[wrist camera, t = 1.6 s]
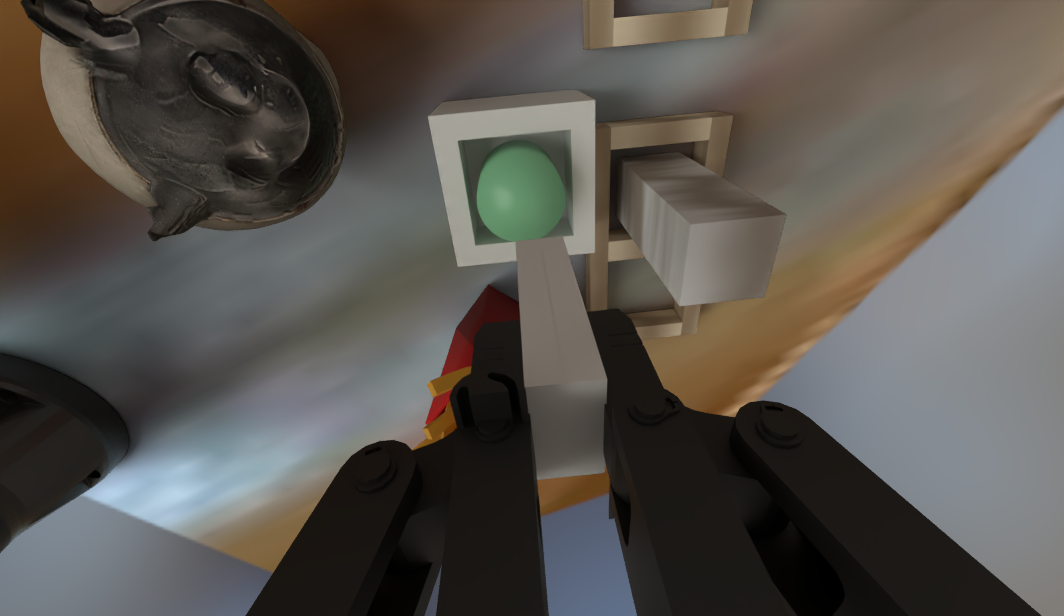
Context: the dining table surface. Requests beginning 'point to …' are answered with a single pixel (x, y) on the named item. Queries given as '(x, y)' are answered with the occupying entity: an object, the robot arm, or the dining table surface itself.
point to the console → (489, 122)
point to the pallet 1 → (662, 24)
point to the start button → (520, 191)
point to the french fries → (463, 359)
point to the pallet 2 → (679, 220)
